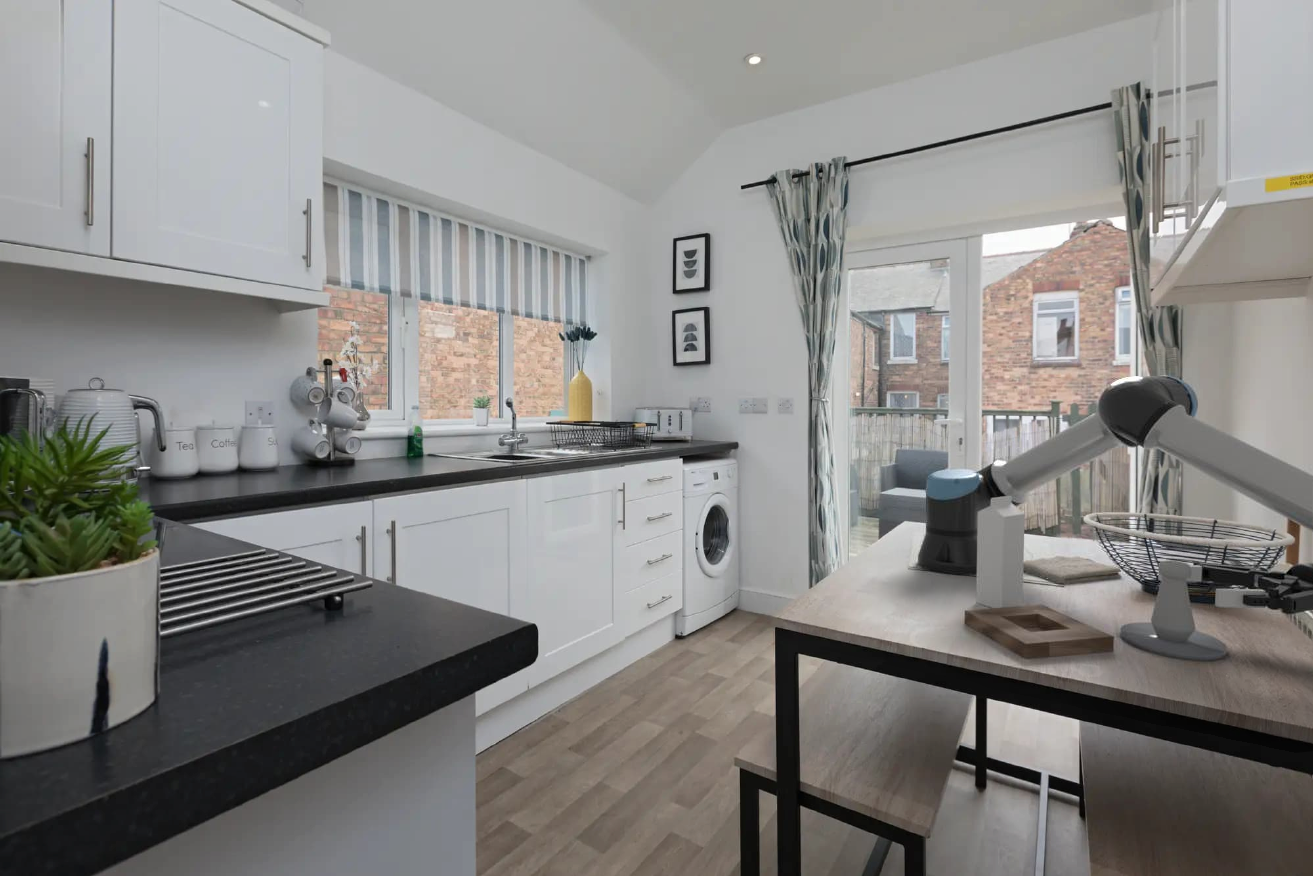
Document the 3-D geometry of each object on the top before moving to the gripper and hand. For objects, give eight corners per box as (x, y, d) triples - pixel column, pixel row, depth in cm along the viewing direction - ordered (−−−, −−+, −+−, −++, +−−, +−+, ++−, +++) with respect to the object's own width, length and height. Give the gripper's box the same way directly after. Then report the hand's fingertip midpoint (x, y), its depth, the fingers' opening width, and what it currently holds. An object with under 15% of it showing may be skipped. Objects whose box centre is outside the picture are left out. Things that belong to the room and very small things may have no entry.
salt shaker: (1203, 645, 104) (1206, 567, 103) (1165, 644, 105) (1168, 567, 104) (1178, 631, 110) (1181, 558, 109) (1142, 630, 111) (1145, 557, 110)
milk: (1022, 607, 127) (1026, 498, 125) (1001, 611, 125) (1005, 500, 123) (995, 598, 133) (998, 493, 131) (975, 602, 130) (977, 495, 128)
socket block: (964, 623, 119) (964, 610, 119) (1041, 617, 121) (1042, 604, 121) (1025, 658, 103) (1026, 643, 103) (1113, 651, 105) (1113, 636, 105)
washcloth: (1124, 578, 145) (1125, 565, 145) (1062, 587, 140) (1063, 573, 140) (1077, 565, 156) (1077, 553, 156) (1018, 572, 152) (1018, 559, 151)
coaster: (1100, 630, 114) (1100, 625, 114) (1168, 625, 116) (1168, 619, 116) (1174, 663, 100) (1174, 657, 100) (1250, 656, 102) (1250, 650, 102)
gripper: (1408, 639, 91) (1244, 635, 94) (1265, 586, 116) (1139, 584, 119) (1411, 588, 91) (1247, 585, 94) (1267, 545, 116) (1140, 544, 118)
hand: (1186, 584), depth 106 cm, fingers open, 13 cm apart
